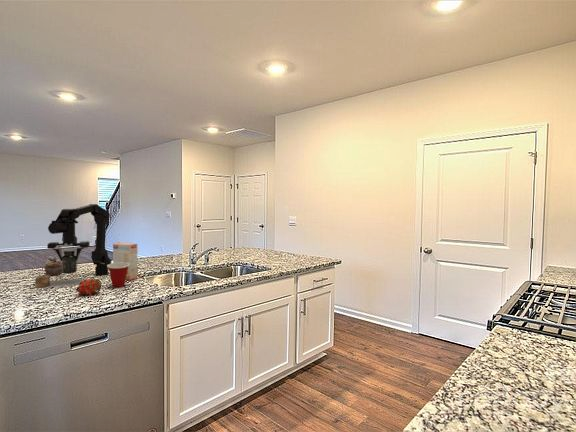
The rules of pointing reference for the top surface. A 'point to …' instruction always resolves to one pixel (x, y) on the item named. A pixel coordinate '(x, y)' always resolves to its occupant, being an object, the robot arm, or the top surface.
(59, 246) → the robot arm
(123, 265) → the plastic cup
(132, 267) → the cracker box
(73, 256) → the supplement bottle
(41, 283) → the walnut block
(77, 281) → the gray board
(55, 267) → the cupcake
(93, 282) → the dragon fruit
